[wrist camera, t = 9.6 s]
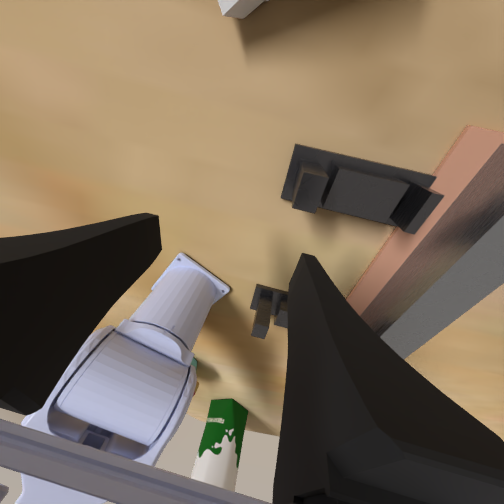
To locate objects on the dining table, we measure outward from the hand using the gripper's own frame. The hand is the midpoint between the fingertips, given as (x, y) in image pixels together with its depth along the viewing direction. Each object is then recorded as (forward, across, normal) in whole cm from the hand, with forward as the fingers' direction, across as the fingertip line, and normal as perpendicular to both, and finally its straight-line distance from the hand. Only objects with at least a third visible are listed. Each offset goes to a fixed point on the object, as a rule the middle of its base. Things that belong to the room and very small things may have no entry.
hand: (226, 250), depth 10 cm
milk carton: (+11, -4, +55) cm, 56 cm away
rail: (+10, -18, +6) cm, 21 cm away
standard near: (+10, -8, -2) cm, 13 cm away
